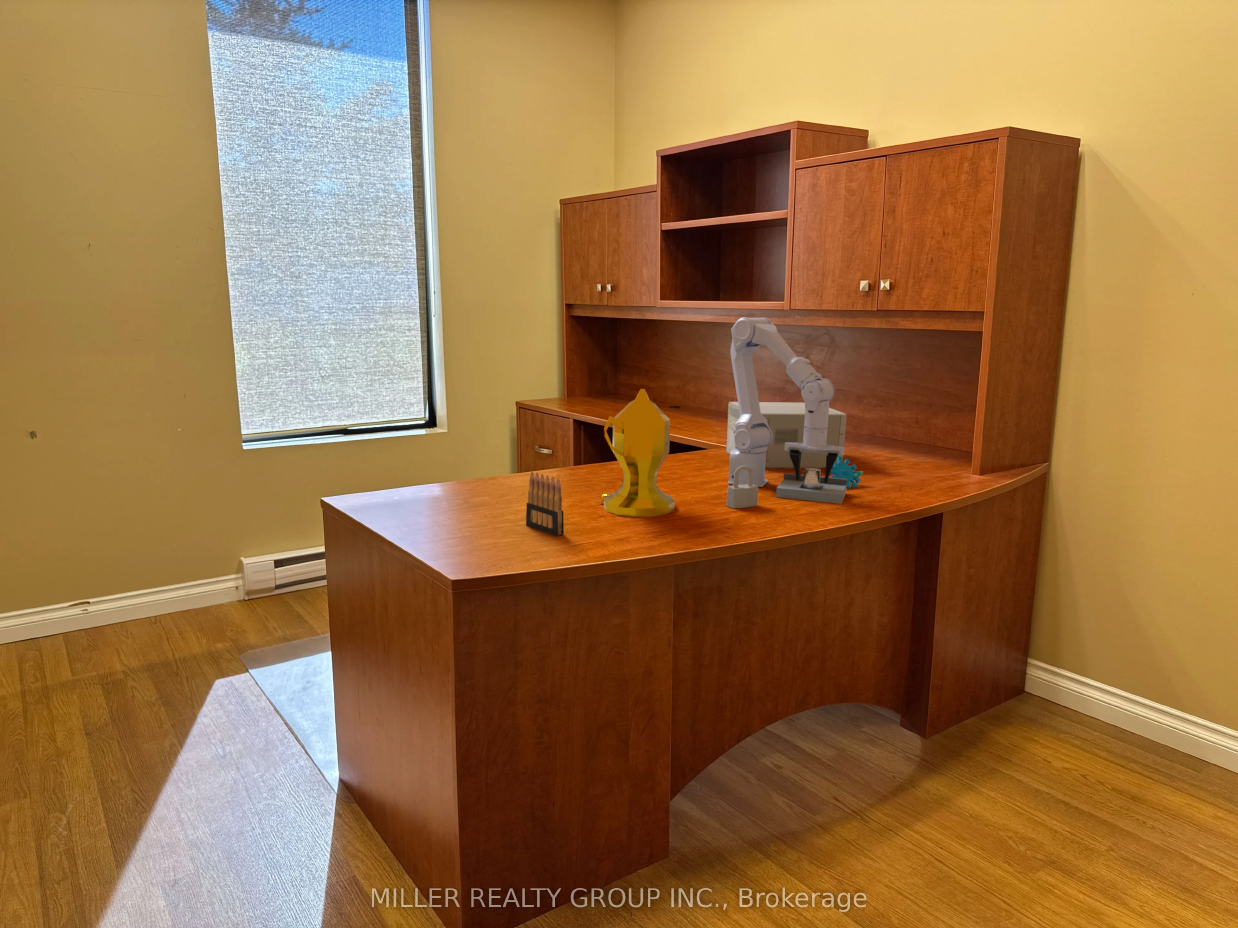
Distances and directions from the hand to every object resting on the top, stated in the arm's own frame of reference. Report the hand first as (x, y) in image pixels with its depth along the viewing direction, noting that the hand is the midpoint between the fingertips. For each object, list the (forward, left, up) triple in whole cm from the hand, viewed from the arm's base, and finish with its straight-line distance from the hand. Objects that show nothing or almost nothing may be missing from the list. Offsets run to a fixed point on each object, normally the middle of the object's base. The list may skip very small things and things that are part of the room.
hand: (811, 480), depth 216 cm
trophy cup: (-37, -30, -4) cm, 48 cm away
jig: (0, +1, -4) cm, 4 cm away
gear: (+7, +16, -4) cm, 18 cm away
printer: (-15, +47, -4) cm, 50 cm away
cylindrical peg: (0, 0, -4) cm, 4 cm away
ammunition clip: (-48, -57, -4) cm, 75 cm away
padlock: (-14, -18, -4) cm, 23 cm away
